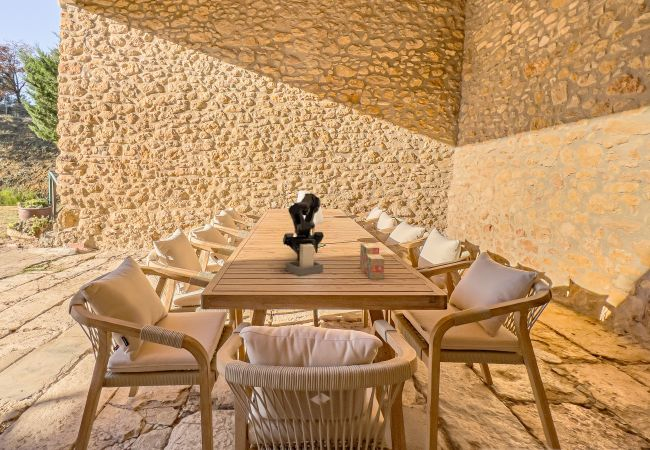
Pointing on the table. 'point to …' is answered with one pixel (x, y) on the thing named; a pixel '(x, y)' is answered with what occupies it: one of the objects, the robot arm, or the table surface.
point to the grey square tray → (295, 268)
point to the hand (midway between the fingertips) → (307, 253)
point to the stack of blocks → (371, 261)
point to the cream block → (306, 255)
